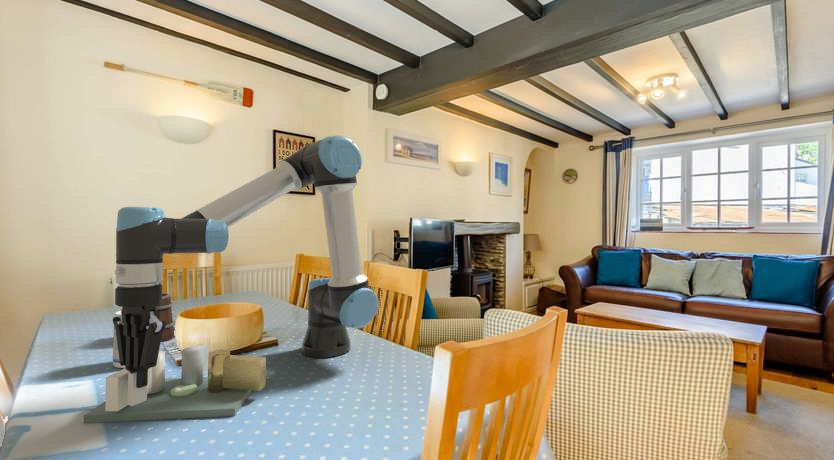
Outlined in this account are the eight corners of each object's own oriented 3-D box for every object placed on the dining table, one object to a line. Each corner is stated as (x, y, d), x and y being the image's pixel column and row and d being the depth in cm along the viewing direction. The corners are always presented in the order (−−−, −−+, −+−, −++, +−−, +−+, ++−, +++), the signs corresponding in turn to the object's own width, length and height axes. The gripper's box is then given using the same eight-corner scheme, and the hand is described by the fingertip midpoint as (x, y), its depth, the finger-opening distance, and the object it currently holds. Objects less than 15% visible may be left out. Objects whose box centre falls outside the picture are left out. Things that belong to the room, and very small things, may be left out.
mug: (183, 336, 128) (183, 293, 128) (146, 346, 117) (147, 299, 117) (154, 331, 134) (154, 290, 134) (116, 340, 123) (117, 295, 123)
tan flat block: (216, 382, 86) (216, 349, 86) (267, 386, 85) (268, 352, 85) (203, 390, 82) (203, 355, 82) (257, 395, 80) (257, 359, 80)
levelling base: (261, 378, 94) (262, 340, 94) (234, 415, 75) (235, 368, 75) (143, 382, 90) (143, 342, 90) (83, 423, 71) (84, 373, 71)
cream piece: (169, 385, 84) (169, 351, 84) (122, 414, 71) (123, 373, 71) (150, 385, 84) (151, 350, 84) (100, 413, 71) (100, 373, 71)
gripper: (97, 284, 72) (95, 404, 72) (140, 289, 67) (137, 417, 67) (139, 280, 79) (136, 389, 79) (180, 284, 74) (177, 400, 74)
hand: (137, 402), depth 73 cm, fingers closed
